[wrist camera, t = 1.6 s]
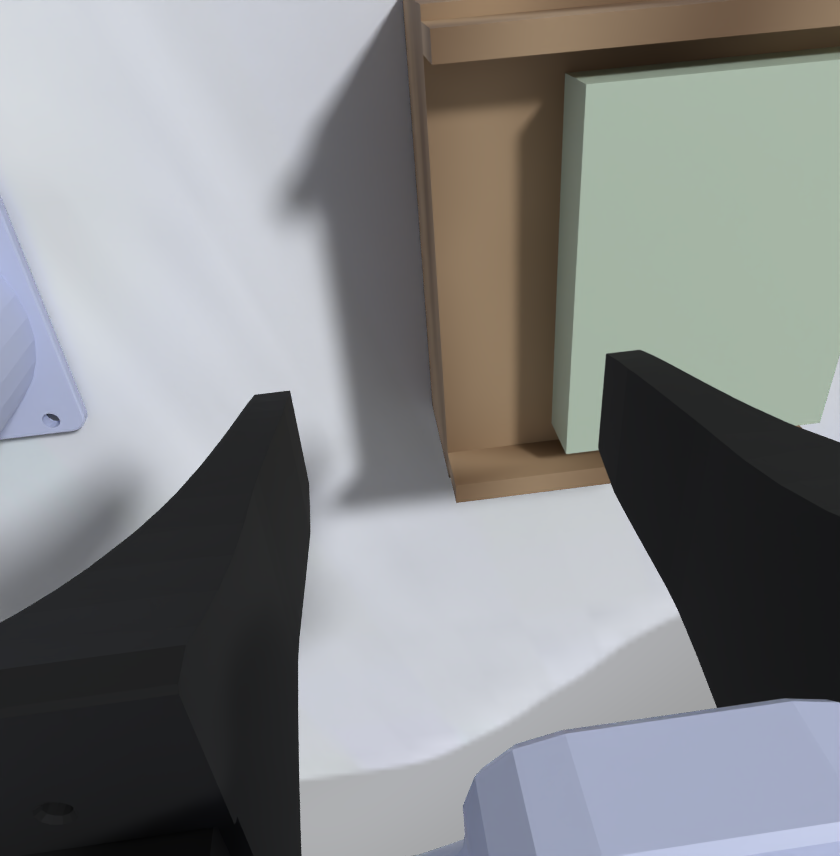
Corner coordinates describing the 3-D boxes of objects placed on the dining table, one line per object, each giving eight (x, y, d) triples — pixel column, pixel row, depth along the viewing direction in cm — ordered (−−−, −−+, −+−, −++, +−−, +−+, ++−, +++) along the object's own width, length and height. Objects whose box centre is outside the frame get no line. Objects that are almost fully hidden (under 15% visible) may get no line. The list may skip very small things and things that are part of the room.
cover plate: (551, 423, 20) (565, 454, 19) (565, 72, 15) (586, 83, 14) (790, 394, 21) (819, 422, 19) (881, 42, 16) (929, 50, 14)
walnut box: (432, 405, 24) (456, 510, 20) (401, -8, 17) (428, 10, 13) (718, 371, 25) (806, 466, 20) (797, -44, 18) (955, -39, 13)
